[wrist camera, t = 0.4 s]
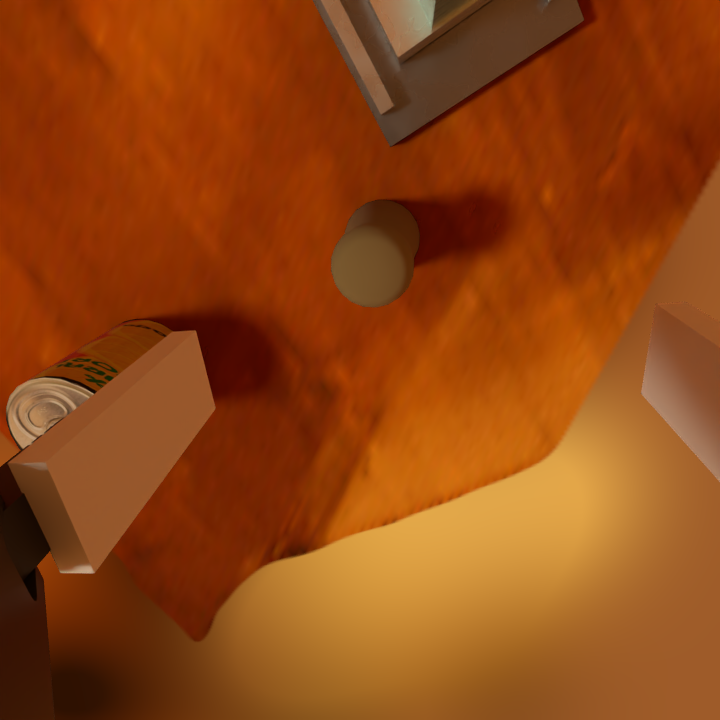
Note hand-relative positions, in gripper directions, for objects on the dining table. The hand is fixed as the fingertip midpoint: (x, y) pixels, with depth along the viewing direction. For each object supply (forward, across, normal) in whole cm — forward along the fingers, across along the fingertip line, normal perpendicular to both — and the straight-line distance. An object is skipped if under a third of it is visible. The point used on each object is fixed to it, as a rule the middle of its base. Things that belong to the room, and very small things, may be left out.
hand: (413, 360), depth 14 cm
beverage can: (+26, -26, -11) cm, 38 cm away
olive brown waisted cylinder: (+26, -3, -1) cm, 26 cm away
